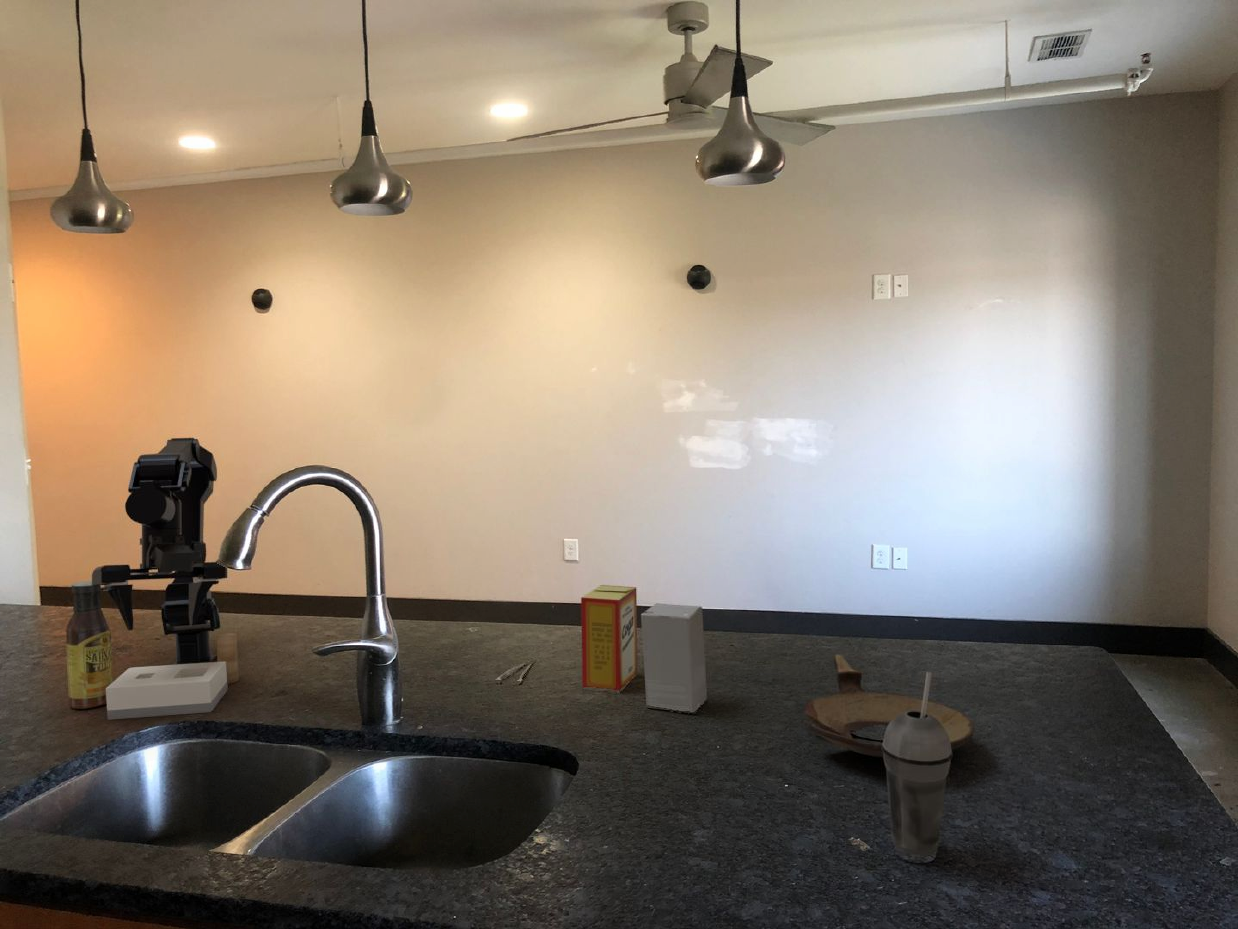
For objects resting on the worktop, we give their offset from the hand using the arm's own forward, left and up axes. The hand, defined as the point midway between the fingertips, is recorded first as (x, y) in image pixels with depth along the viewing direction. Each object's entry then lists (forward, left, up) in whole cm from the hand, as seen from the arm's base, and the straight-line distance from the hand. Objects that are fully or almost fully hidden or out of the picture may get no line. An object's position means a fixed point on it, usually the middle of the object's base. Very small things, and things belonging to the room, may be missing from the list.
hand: (162, 627), depth 140 cm
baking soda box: (+4, +72, -13) cm, 73 cm away
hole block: (-1, 0, -13) cm, 13 cm away
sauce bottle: (-4, -12, -13) cm, 18 cm away
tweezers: (-6, +58, -14) cm, 60 cm away
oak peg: (-11, +7, -13) cm, 18 cm away
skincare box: (+17, +80, -13) cm, 83 cm away
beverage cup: (+64, +95, -13) cm, 115 cm away
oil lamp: (+36, +106, -13) cm, 113 cm away
